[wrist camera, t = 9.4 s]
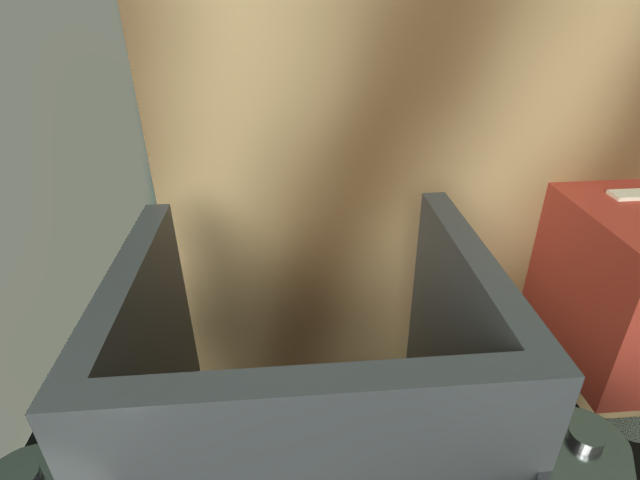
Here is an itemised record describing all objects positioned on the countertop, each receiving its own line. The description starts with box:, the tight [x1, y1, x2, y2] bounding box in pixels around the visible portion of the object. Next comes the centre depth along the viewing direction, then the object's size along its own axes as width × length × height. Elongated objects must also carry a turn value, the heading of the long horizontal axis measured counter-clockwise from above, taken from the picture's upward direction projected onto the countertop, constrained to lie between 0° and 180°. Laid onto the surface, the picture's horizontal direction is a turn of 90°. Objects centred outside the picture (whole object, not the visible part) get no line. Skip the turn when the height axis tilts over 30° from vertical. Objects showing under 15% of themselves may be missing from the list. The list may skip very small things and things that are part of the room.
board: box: [117, 0, 640, 419], centre depth 14 cm, size 24×14×1 cm, turn 90°
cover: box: [25, 192, 585, 480], centre depth 9 cm, size 6×6×6 cm
